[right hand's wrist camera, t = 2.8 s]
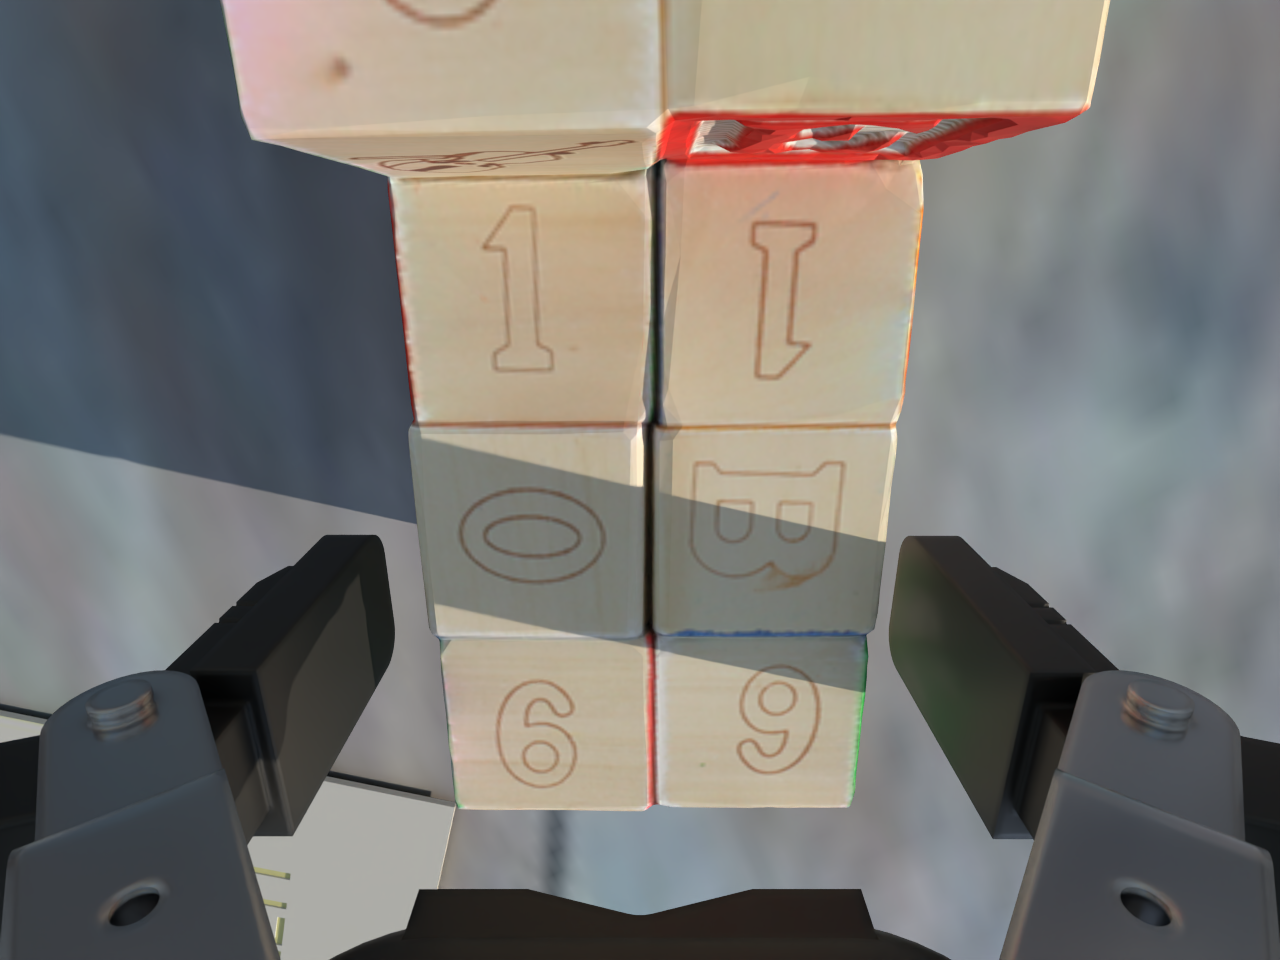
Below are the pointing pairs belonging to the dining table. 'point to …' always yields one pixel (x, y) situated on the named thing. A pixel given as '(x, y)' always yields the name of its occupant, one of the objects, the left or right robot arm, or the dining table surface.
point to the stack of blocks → (655, 349)
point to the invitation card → (337, 861)
